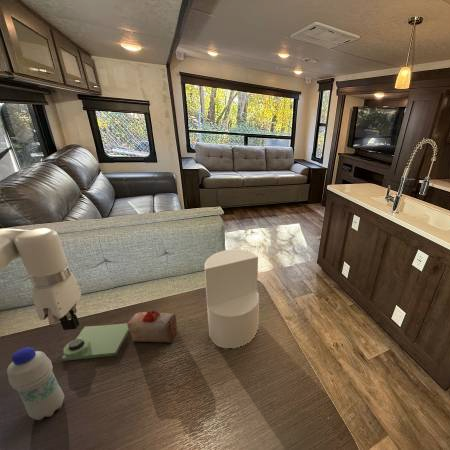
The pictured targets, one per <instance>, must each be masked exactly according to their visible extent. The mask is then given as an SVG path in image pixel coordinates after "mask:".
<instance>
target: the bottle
mask: <svg viewBox="0 0 450 450" xmlns="http://www.w3.org/2000/svg"><path fill="white" fill-rule="evenodd" d="M53 367H54V366H53V364H52V360H51V359H50V358H49V357H48V356H47V355H46V353H44V351H41V350H35V349H34V348H33V347H32V346H31V347H30V346H27V347H22V348H20V349H17V351H16V352H14V353H13V354H12V356H11V363H10V364H9V365H8V367H7V369H6V374H7V378H8V384H9V385H10V387H11V388H12V389H13V390H16V392H17V393H18V396H19V397H20V399H21V401H22V403H23V405H24V408H25V410H26V414H27V415H28V416H29V417H30V418H32V419H34V420H36V421H41V420H43V419H44V418H45V417H46V418H47V417H48V418H50V417H52V416H53V415H54V412H55V411H58V410H60V409H61V408H62V406H63V404H64V403H63V402H64V401H65V394H64V391H63V389H62V387H61V386H60V385H59V383H58V380H57V378H56V377H55V374H54V371H53Z"/></svg>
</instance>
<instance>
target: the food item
mask: <svg viewBox="0 0 450 450" xmlns="http://www.w3.org/2000/svg"><path fill="white" fill-rule="evenodd" d="M176 314H177V313H169V312H159V311H157V310H156V307H154V308H153V310H146V311H139V312H136V313H135V314H134V315H133V316H132V317H131V318H130V320H129V321H128V322H127V323H128V324H127V323H126V324H127V325H128V329H129V333H130V334H129V335H130V336H131V338H132V339H131V340H132V342H133V343H137V342H138V343H140V342H143V343H145V342H146V343H168V344H170V343H172V342H173V341H174V340H175V338H176V336H177V333H178V324H177V316H176Z"/></svg>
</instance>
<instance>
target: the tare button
mask: <svg viewBox="0 0 450 450" xmlns="http://www.w3.org/2000/svg"><path fill="white" fill-rule="evenodd" d="M71 341H72V342H71ZM71 341H70V342H71V343H70V342H69V343H70V344H69V347H70V350H72V351H74V350H77V349H80V348H81V347H82V346H83V341H82V339H76V338H75V339H73V340H71Z"/></svg>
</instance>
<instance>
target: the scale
mask: <svg viewBox="0 0 450 450" xmlns="http://www.w3.org/2000/svg"><path fill="white" fill-rule="evenodd" d="M127 324H128V322H127V323H117V324H115V323H114V324H103V325H91V326H89V325H88V326H84V327H83V328H82V329H81V331H80V333H78V335H77V337H76V338H75V339H82V341H83V346H82V347H81V348H80V349H77V350H74V351H72V350H70V347H69V344H70V343H71V342H72V341H73V340H71V341H69V342H68V343H67V344H66V345H65V346H64V347H63V349H62V350H63V355H62V356H61V361H62V362H64V361H65V362H67V361H76V360H83V359H84V360H85V359H94V358H104V357H114V356H117V355H118V353H119V351H120V350H121V348H122V346H123V343H124V342H125V339H126V338H127V336H128V334H129V333H130V331H129V329H128V325H127Z"/></svg>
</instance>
